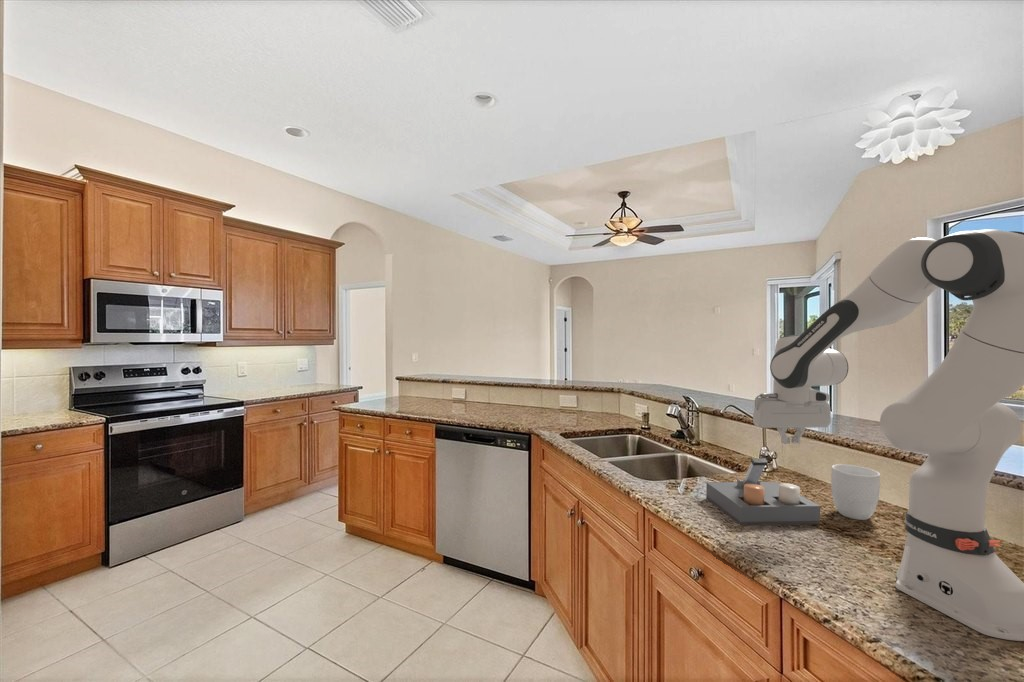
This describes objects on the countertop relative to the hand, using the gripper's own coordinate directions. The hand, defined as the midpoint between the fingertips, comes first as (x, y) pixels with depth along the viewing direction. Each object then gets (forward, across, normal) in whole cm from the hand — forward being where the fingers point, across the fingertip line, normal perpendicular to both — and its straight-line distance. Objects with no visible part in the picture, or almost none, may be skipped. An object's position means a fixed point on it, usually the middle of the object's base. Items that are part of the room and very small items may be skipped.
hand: (790, 443), depth 124 cm
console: (+21, -5, +5) cm, 22 cm away
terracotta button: (+17, -10, 0) cm, 20 cm away
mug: (+21, +21, +2) cm, 30 cm away
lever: (+16, -5, +11) cm, 20 cm away
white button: (+17, 0, 0) cm, 17 cm away
